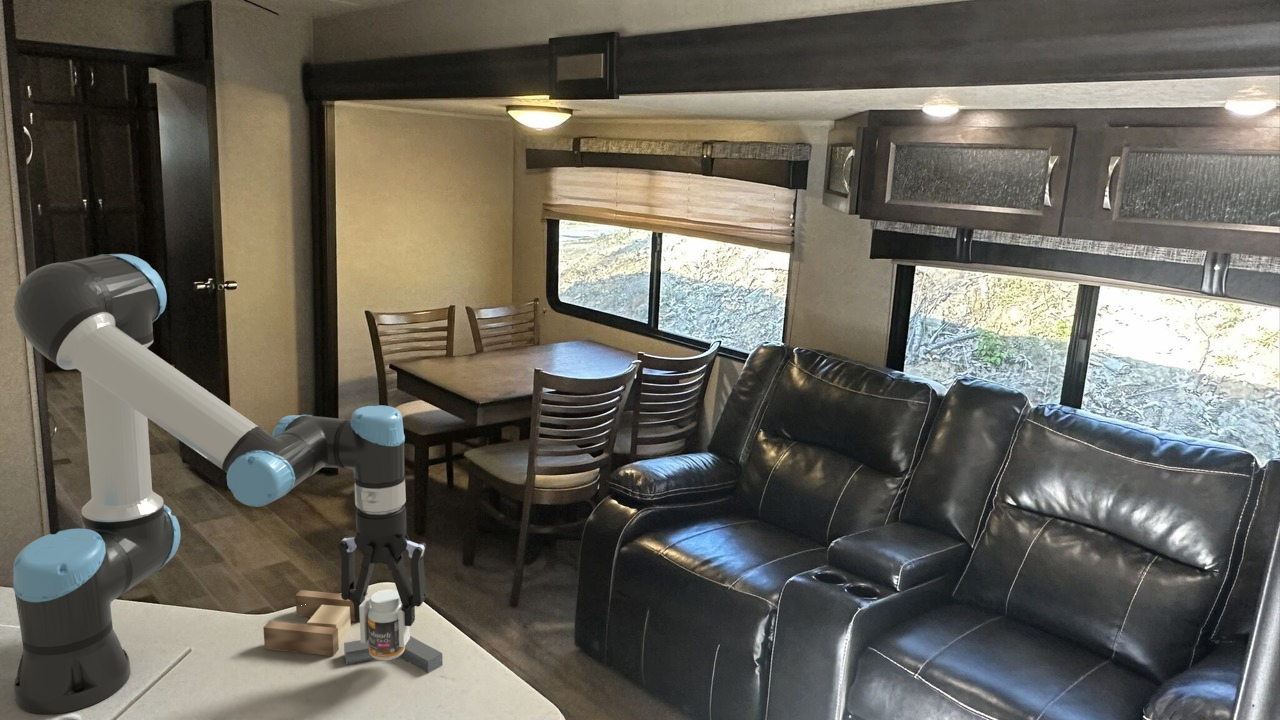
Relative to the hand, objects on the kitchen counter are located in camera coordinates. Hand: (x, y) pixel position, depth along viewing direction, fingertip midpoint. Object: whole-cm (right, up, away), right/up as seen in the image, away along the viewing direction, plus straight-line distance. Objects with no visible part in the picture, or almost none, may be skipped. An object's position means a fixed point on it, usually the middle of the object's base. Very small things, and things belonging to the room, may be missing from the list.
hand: (385, 640), depth 145 cm
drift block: (-13, -3, +11) cm, 17 cm away
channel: (-15, -2, +12) cm, 19 cm away
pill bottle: (0, -2, +1) cm, 3 cm away
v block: (0, -4, +5) cm, 7 cm away
